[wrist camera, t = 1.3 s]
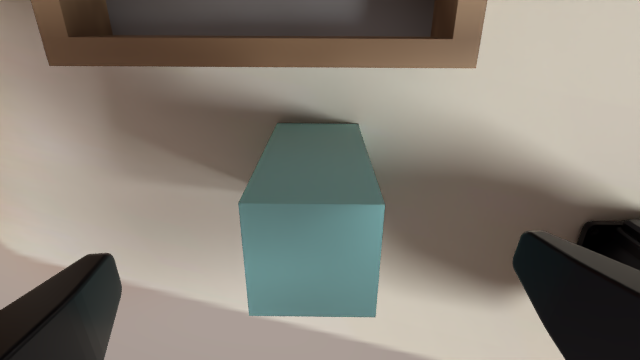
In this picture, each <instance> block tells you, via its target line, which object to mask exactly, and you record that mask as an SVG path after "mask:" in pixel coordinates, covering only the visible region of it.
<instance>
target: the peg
mask: <svg viewBox="0 0 640 360" xmlns="http://www.w3.org/2000/svg"><path fill="white" fill-rule="evenodd" d="M238 205H239V215H240V225H241V236H242V246H243V256H244V267H245V277H246V287H247V298H248V308H249V316H317V317H375V316H376V304H377V293H378V281H379V269H380V258H381V246H382V234H383V223H384V211H385V203H384V200H383V197H382V194H381V191H380V188H379V185H378V182H377V179H376V176H375V173H374V170H373V167H372V164H371V161H370V158H369V155H368V152H367V149H366V146H365V143H364V140H363V137H362V134H361V131H360V128H359V125H358V124H324V123H277V125H276V127H275V129H274V131H273V133H272V135H271V137H270V139H269V141H268V143H267V145H266V147H265V149H264V152H263V154H262V156H261V158H260V160H259V162H258V164H257V166H256V168H255V170H254V172H253V174H252V176H251V178H250V180H249V182H248V185H247V187H246V189H245V191H244V193H243V195H242V197H241V199H240V201H239V203H238Z"/></svg>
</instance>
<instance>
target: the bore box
mask: <svg viewBox="0 0 640 360" xmlns="http://www.w3.org/2000/svg"><path fill="white" fill-rule="evenodd" d="M31 3H32V7H33V10H34V14H35V17H36V21H37V24H38V28H39V31H40V35H41V38H42V42H43V45H44V49H45V52H46V56H47V60H48V63H49V66H183V67H358V68H476V64H477V58H478V52H479V46H480V40H481V35H482V29H483V23H484V17H485V11H486V5H487V0H31Z"/></svg>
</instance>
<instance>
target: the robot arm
mask: <svg viewBox="0 0 640 360" xmlns="http://www.w3.org/2000/svg"><path fill="white" fill-rule="evenodd" d="M592 229H594V230H593V231H591V230H592ZM513 267H514V270H515V272H516V274H517V276H518V278H519V280H520V282H521V283H522V285H523V287H524V289H525V291H526V293H527V295H528V297H529V299H530V301H531V302H532V304H533V306H534V308H535V310H536V312H537V314H538V316H539V318H540V319H541V321H542V323H543V325H544V327H545V328H546V330H547V332H548V333H549V335H550V336H551V338H552V340H553V341H554V343H555V344H556V346H557V347H558V349H559V350H560V352H561V354H562V355H563V357H564V358H565V360H640V220H626V221H624V222H622V221H591V222H588V223H586V224H585V225H584V226H583V228H582V231H581V234H580V237H579V240H578V243H577V244H574V243H572V242H569V241H567V240H565V239H562V238H560V237H557V236H555V235H553V234H550V233H548V232H545V231H541V230H539V231H526V232H524V233H523V234H522V235H521V237H520V240H519V243H518V246H517V248H516V251H515V254H514V256H513ZM121 292H122V286H121V281H120V277H119V274H118V270H117V267H116V263H115V260H114V258H113V256H112V255H111V254H109V253H98V254H88V255H86V256H84V257H83V258H81V259H79V260H78V261H76V262H75V263H73V264H72V265H70V266H69V267H67V268H65V269H64V270H62V271H61V272H59V273H58V274H56V275H55V276H53V277H51V278H50V279H49V280H47V281H45V282H44V283H42V284H41V285H39V286H37V287H36V288H34V289H33V290H31V291H30V292H28V293H27V294H25V295H24V296H22V297H21V298H19V299H17V300H16V301H14V302H12V303H11V304H9V305H8V306H6V307H5V308H3V309H2V310H0V360H104V357H105V353H106V350H107V346H108V342H109V338H110V335H111V331H112V327H113V324H114V320H115V316H116V312H117V309H118V305H119V301H120V298H121Z"/></svg>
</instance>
